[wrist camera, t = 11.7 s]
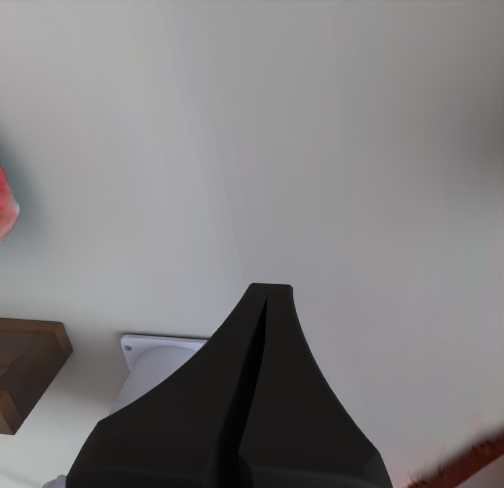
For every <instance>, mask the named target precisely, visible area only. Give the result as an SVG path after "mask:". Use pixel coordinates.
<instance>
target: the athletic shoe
mask: <svg viewBox="0 0 504 488" xmlns="http://www.w3.org/2000/svg"><path fill="white" fill-rule="evenodd" d="M19 208H20V207H19V205H18V204H17V202H16V201H15V199H14V197H13V194H12V191H11V189H10V186H9V183H8V180H7V178H6V175H5V172H4V170H3V168H2V166H1V165H0V243H1V242H2V241H3V239H4V238H5V237H6V236H7V235H8V234H9V233H10V231H11V230H12V229H13V227H14V224H15V222H16V219H17V217H18V215H19Z"/></svg>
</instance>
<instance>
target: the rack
mask: <svg viewBox="0 0 504 488" xmlns="http://www.w3.org/2000/svg"><path fill="white" fill-rule="evenodd" d="M72 353H73V350H72V347H71V345H70V342H69V339H68V337H67V334H66V332H65V329H64V326H63V324H62V323H60V322H46V321H32V320H18V319H4V318H0V434H7V435H15V434H16V432H17V431H18V429H19V428H20V427H21V425H22V424H23V422H24V420H25V419H26V418H27V417H28V415H29V414H30V412H31V411H32V409H33V408H34V407H35V405H36V404H37V402H38V401H39V400H40V398H41V397H42V395H43V394H44V392H45V391H46V390H47V388H48V387H49V385H50V384H51V382H52V381H53V380H54V378H55V377H56V375H57V374H58V372H59V371H60V370H61V368H62V367H63V365H64V364H65V363H66V361H67V360H68V358H69V357H70V355H71V354H72Z"/></svg>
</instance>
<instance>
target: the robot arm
mask: <svg viewBox="0 0 504 488" xmlns="http://www.w3.org/2000/svg"><path fill="white" fill-rule="evenodd" d="M120 343H121V346H122V349H123V353H124V356H125V360H126V363H127V366H128V370H129V373H130V374H129V376H128V378H127V380H126V382H125V384H124V386H123V388H122V390H121V392H120V394H119V396H118V398H117V400H116V402H115V404H114V406H113V408H112V410H111V412H110V414H109V416H108V417H106V418H104V419H102V420H100V421H99V422H98V423H97V425H96V426H95V428H94V429H93V431H92V432H91V434H90V435H89V437H88V438H87V440H86V441H85V443H84V445H83V447H82V448H81V450H80V452H79V454H78V456H77V458H76V460H75V462H74V463H73V465H72V467H71V469H70V471H69V473H68V475H67V476H65V475H59V476H58V477H57V478H56V479H54V480H52V481H49V482H47V483H46V484H44V486H43V487H42V488H393V486H392V483H391V480H390V477H389V475H388V472H387V470H386V467H385V465H384V462H383V460H382V458H381V455H380V453H379V451H378V450H377V449H376V448H375V446H374V445H373V444H372V443H371V442H370V441H369V440H368V438H367V437H366V436H365V435H364V433H363V432H362V431H361V430H360V429H359V427H358V426H357V425H356V423H355V422H354V421H353V420H352V418H351V417H350V416H349V414H348V413H347V412H346V410H345V409H344V407H343V406H342V404H341V403H340V401H339V400H338V398H337V397H336V395H335V394H334V392H333V391H332V389H331V388H330V386H329V385H328V383H327V381H326V379H325V378H324V376H323V374H322V373H321V371H320V369H319V367H318V365H317V363H316V361H315V359H314V357H313V355H312V353H311V351H310V349H309V346H308V344H307V342H306V339H305V337H304V334H303V331H302V329H301V326H300V323H299V320H298V317H297V313H296V309H295V305H294V300H293V287H292V286H291V285H286V284H265V283H252V284H251V285H249V287H248V289H247V290H246V292H245V293H244V295H243V297H242V298H241V300H240V301H239V302H238V304H237V305H236V307H235V308H234V309H233V311H232V312H231V313H230V315H229V316H228V317H227V319H226V320H225V321H224V322H223V324H222V325H221V326H220V327H219V328H218V329H217V331H216V332H215V333H214V334H213V335H212V336H211V337H210V339H209V340H197V339H183V338H169V337H156V336H142V335H129V334H126V335H123V336H122V338H121V340H120Z"/></svg>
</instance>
